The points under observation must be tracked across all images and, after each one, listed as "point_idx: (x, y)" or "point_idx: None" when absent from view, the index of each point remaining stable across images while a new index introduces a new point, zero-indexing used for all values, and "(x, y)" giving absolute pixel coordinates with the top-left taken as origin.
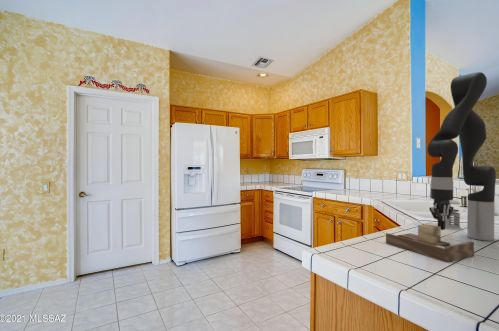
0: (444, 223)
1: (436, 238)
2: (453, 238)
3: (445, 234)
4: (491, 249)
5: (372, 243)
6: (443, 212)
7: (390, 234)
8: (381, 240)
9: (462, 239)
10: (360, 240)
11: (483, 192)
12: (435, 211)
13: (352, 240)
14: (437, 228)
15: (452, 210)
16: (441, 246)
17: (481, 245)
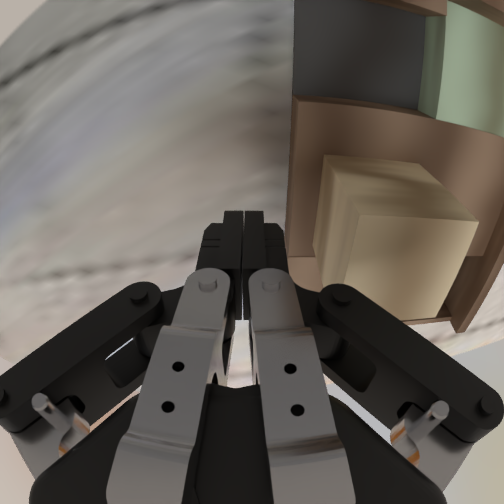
0: (241, 248)
1: (384, 169)
2: (36, 233)
3: (26, 285)
4: (32, 25)
5: (483, 306)
6: (321, 373)
7: (471, 317)
8: (424, 324)
9: (10, 207)
10: (470, 337)
11: None
12: (475, 385)
13: (483, 340)
14: (405, 210)
15: (18, 368)
16: (441, 98)
17: (9, 98)
